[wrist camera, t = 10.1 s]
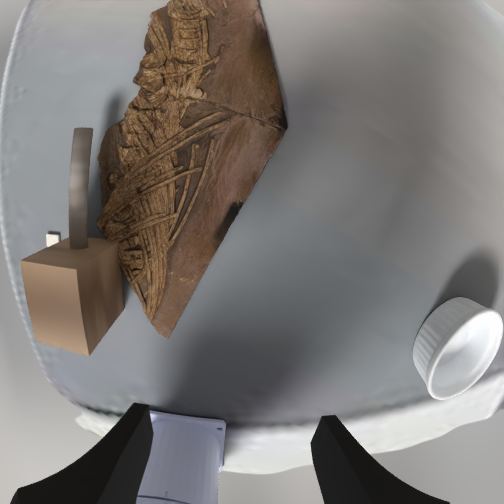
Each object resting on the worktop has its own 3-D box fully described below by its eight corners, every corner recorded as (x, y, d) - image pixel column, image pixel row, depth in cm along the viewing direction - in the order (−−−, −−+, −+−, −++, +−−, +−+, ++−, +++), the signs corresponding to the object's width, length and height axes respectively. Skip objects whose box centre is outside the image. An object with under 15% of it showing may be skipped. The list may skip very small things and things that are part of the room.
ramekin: (392, 377, 22) (412, 407, 18) (426, 287, 19) (458, 310, 15) (454, 368, 22) (476, 391, 18) (486, 291, 20) (515, 309, 16)
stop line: (67, 310, 18) (66, 311, 18) (56, 307, 18) (54, 308, 18) (59, 234, 17) (58, 235, 17) (47, 233, 17) (46, 234, 17)
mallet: (124, 308, 19) (89, 356, 13) (78, 300, 18) (36, 340, 13) (128, 132, 16) (81, 117, 10) (77, 134, 15) (22, 125, 9)
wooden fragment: (173, -21, 12) (170, -29, 11) (321, 8, 14) (325, 1, 13) (84, 307, 19) (78, 313, 18) (221, 346, 20) (221, 355, 19)
